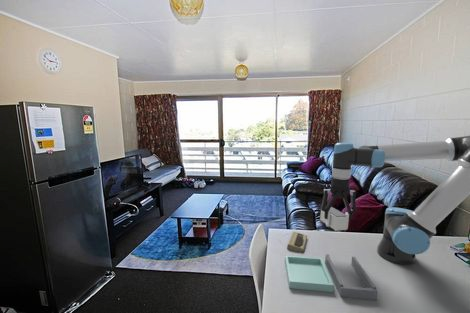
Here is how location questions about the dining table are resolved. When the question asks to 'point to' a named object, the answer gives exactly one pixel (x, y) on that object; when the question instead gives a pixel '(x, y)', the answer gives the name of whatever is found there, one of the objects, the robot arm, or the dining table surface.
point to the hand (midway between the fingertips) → (336, 226)
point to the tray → (308, 274)
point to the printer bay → (353, 292)
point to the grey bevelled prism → (336, 219)
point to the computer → (297, 242)
